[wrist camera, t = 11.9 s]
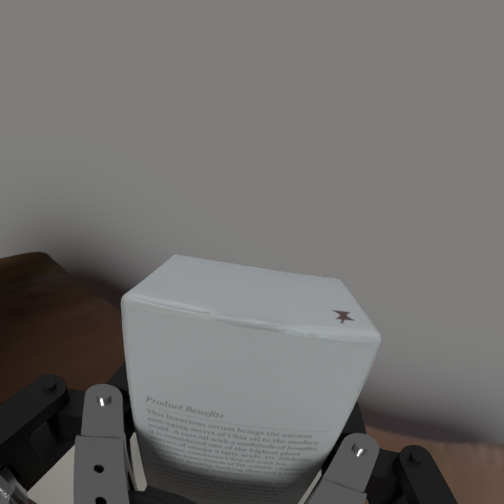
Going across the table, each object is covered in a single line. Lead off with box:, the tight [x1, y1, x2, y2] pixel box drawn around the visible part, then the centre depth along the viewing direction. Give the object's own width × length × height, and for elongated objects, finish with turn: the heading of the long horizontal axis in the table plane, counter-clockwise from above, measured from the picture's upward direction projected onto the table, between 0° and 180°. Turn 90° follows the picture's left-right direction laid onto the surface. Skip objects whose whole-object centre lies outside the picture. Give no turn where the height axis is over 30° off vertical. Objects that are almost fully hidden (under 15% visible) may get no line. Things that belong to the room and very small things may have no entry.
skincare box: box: [121, 255, 382, 504], centre depth 9 cm, size 6×4×12 cm
